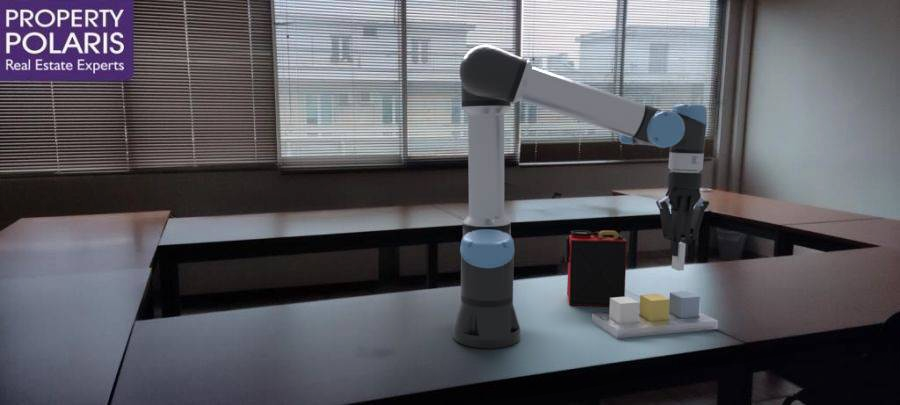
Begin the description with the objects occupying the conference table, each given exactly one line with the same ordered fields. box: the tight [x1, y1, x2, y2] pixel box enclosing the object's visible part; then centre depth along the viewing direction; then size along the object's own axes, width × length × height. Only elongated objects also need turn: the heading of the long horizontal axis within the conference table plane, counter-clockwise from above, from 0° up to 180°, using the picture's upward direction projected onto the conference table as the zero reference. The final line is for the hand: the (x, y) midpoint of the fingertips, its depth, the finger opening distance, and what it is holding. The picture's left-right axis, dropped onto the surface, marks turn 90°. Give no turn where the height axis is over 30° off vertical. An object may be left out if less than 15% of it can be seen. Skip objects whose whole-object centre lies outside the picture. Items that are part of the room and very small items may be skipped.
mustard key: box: [639, 293, 670, 322], centre depth 142 cm, size 5×5×5 cm
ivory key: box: [608, 296, 640, 324], centre depth 140 cm, size 5×5×5 cm
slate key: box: [669, 290, 701, 319], centre depth 144 cm, size 5×5×5 cm
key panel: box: [591, 308, 719, 339], centre depth 142 cm, size 26×12×2 cm, turn 104°
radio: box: [564, 229, 628, 307], centre depth 160 cm, size 16×10×20 cm, turn 84°
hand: (677, 269), depth 144 cm, fingers closed
